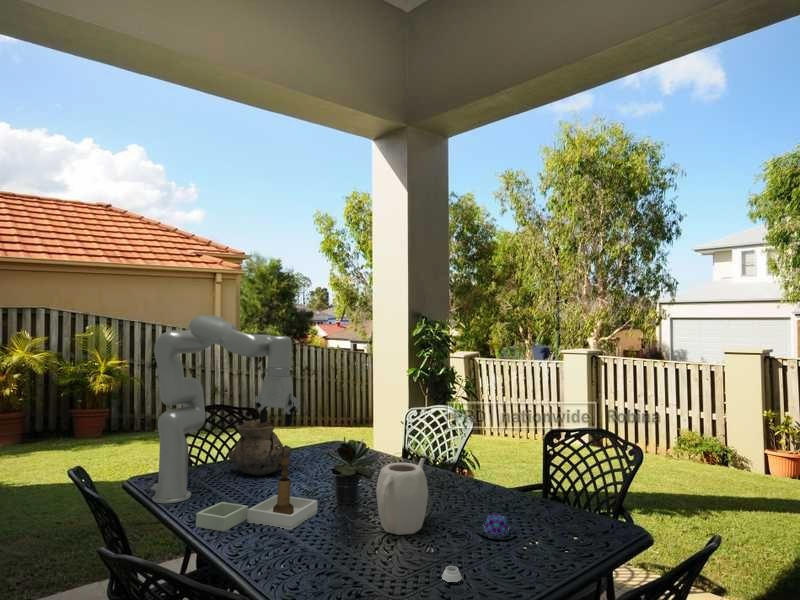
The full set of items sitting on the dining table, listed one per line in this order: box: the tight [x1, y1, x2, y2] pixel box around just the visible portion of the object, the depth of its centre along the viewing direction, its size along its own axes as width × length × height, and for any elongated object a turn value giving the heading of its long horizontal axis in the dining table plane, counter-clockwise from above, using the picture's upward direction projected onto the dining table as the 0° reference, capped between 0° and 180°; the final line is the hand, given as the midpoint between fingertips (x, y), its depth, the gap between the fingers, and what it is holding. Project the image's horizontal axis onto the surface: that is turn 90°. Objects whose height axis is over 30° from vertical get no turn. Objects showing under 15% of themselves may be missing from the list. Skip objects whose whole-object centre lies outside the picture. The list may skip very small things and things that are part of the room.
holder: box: [195, 501, 249, 532], centre depth 158 cm, size 10×12×4 cm
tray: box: [246, 494, 318, 531], centre depth 163 cm, size 16×16×4 cm
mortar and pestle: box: [273, 457, 294, 515], centre depth 163 cm, size 7×6×18 cm
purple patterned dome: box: [483, 513, 510, 535], centre depth 152 cm, size 12×12×5 cm
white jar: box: [441, 565, 463, 582], centre depth 123 cm, size 5×3×5 cm
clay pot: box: [227, 418, 292, 476], centre depth 215 cm, size 25×24×22 cm
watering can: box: [375, 457, 429, 536], centre depth 156 cm, size 16×27×19 cm, turn 150°
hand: (275, 424), depth 167 cm, fingers open, 9 cm apart
